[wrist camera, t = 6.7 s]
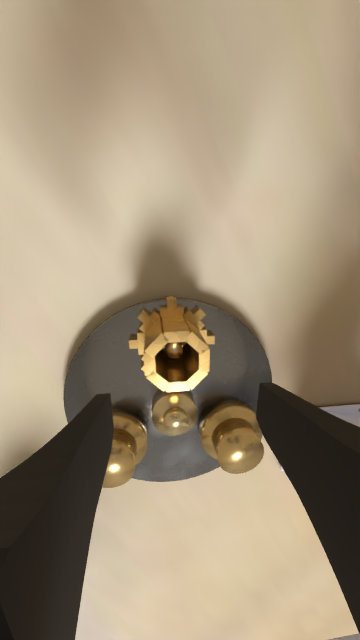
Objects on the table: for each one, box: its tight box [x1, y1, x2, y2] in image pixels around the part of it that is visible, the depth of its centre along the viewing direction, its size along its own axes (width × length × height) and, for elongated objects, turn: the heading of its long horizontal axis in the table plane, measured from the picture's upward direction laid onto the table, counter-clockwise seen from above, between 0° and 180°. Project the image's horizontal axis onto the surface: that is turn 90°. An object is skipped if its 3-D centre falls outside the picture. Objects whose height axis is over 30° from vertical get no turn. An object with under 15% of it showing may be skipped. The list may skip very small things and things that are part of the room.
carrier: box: [64, 298, 272, 488], centre depth 20 cm, size 19×19×4 cm
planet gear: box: [129, 296, 215, 392], centre depth 17 cm, size 7×7×5 cm
